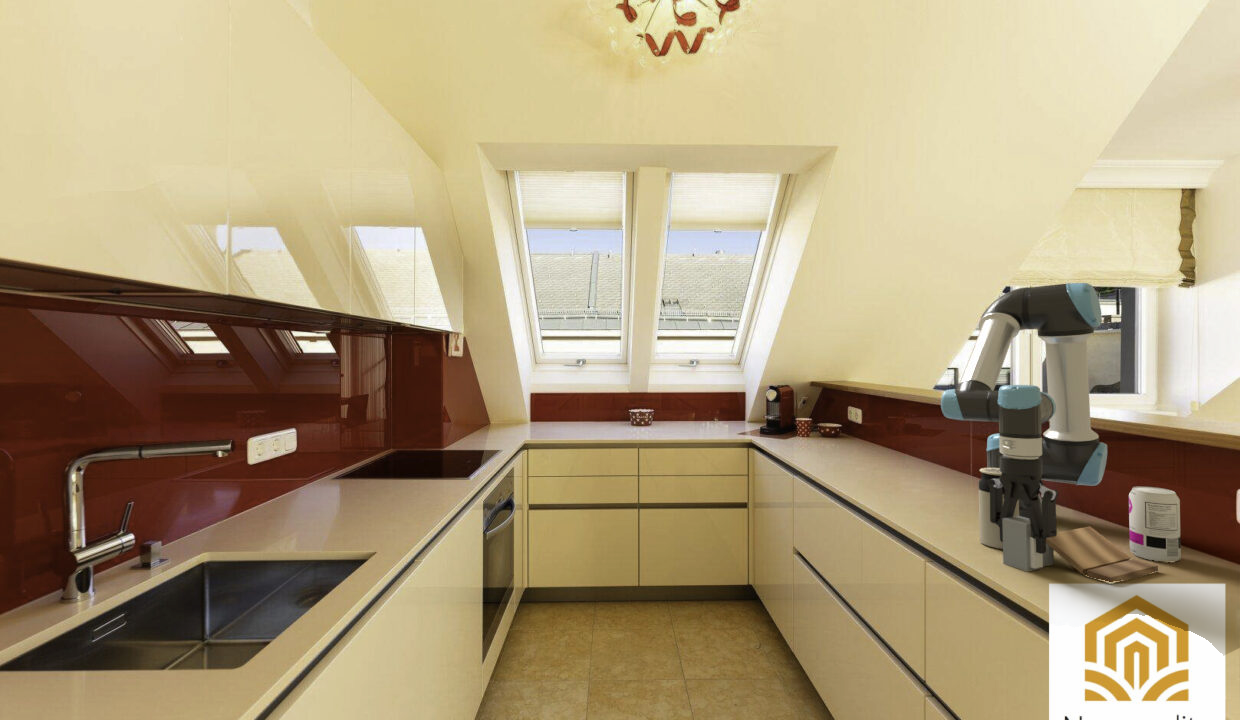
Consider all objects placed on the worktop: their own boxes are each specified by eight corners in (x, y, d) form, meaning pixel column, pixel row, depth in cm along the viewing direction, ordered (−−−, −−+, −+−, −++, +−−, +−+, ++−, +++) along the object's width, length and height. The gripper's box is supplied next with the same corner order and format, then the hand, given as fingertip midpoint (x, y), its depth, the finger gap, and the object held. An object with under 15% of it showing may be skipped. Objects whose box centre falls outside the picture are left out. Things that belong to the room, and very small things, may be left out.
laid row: (1131, 564, 119) (1131, 557, 119) (1158, 571, 114) (1157, 565, 114) (1084, 576, 113) (1084, 569, 113) (1110, 584, 109) (1110, 577, 109)
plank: (1086, 530, 127) (1089, 526, 126) (1128, 562, 119) (1132, 558, 118) (1040, 539, 121) (1043, 535, 120) (1082, 574, 113) (1085, 570, 113)
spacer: (1032, 557, 124) (1031, 513, 124) (1056, 564, 119) (1055, 519, 119) (1003, 563, 121) (1002, 518, 121) (1027, 571, 116) (1026, 524, 116)
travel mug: (1026, 551, 128) (1025, 474, 128) (988, 549, 129) (987, 473, 129) (1009, 540, 136) (1008, 467, 136) (974, 538, 137) (972, 467, 137)
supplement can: (1122, 554, 125) (1121, 488, 125) (1141, 548, 128) (1140, 484, 128) (1169, 566, 117) (1167, 496, 117) (1188, 559, 121) (1187, 492, 121)
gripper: (968, 451, 126) (971, 551, 126) (1054, 464, 109) (1057, 580, 109) (991, 448, 129) (993, 546, 129) (1078, 461, 112) (1080, 574, 112)
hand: (1022, 562), depth 119 cm, fingers closed on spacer, 5 cm apart
